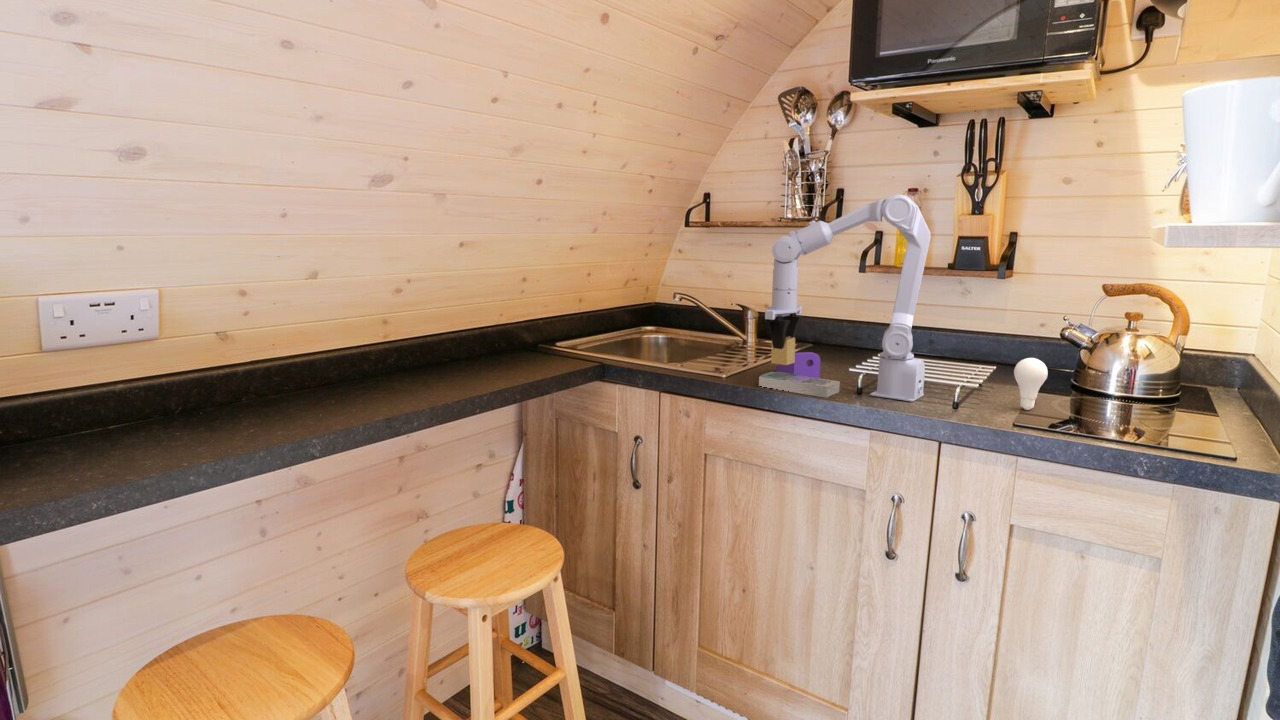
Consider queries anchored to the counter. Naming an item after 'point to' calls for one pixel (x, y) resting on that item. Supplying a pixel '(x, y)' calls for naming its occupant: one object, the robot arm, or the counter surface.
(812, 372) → the bracket
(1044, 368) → the lightbulb
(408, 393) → the counter surface
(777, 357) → the beige hollow block
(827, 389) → the white compartment tray
